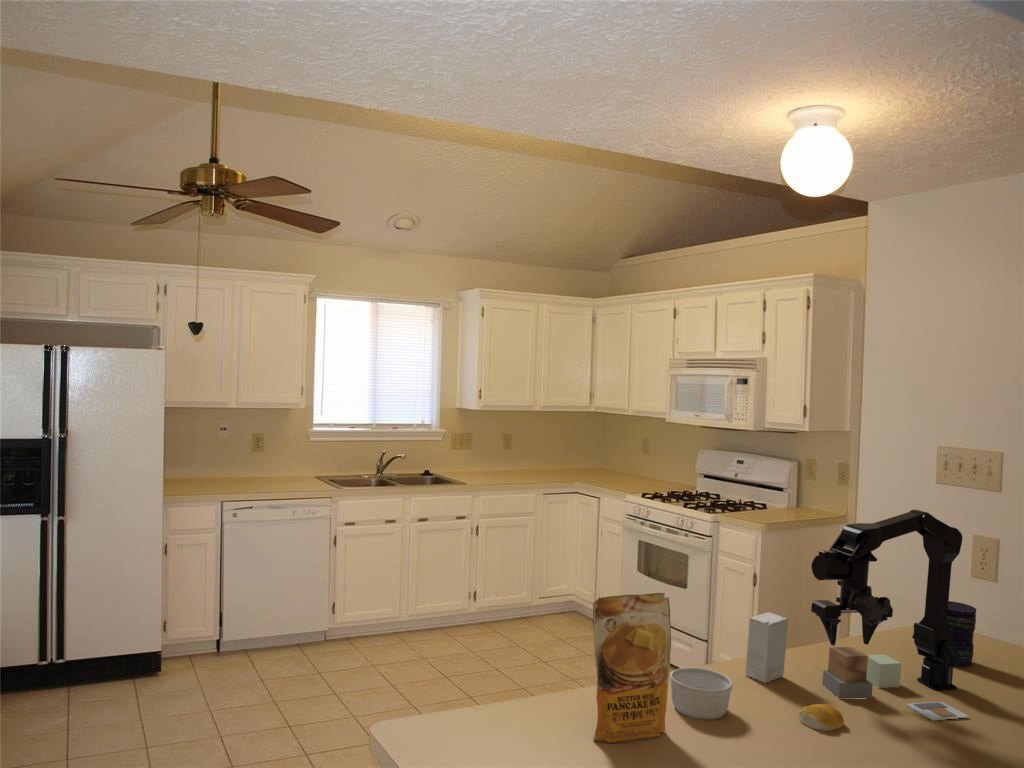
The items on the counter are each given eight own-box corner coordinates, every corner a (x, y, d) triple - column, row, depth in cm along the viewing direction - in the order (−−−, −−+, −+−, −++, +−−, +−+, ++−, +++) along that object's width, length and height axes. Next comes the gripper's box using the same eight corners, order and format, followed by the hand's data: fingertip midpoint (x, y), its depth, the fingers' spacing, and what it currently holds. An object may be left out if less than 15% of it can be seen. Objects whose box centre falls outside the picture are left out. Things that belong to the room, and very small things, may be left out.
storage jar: (980, 669, 217) (984, 613, 216) (942, 666, 217) (947, 610, 216) (960, 655, 227) (964, 601, 226) (924, 653, 227) (928, 599, 226)
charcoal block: (853, 687, 199) (854, 670, 199) (871, 701, 191) (872, 684, 191) (822, 686, 199) (823, 670, 198) (838, 700, 191) (839, 683, 191)
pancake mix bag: (577, 731, 165) (586, 593, 164) (659, 722, 172) (668, 589, 171) (592, 747, 159) (601, 603, 158) (677, 736, 166) (686, 599, 165)
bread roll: (850, 727, 176) (851, 708, 176) (824, 735, 171) (825, 716, 171) (817, 712, 183) (818, 694, 183) (790, 719, 178) (792, 701, 178)
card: (941, 703, 192) (941, 700, 192) (968, 718, 184) (969, 715, 184) (905, 705, 189) (905, 702, 189) (932, 721, 181) (932, 718, 181)
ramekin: (656, 707, 180) (658, 676, 180) (688, 692, 189) (690, 662, 189) (710, 728, 171) (713, 695, 170) (741, 711, 180) (743, 680, 180)
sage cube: (882, 677, 206) (884, 654, 206) (899, 687, 200) (901, 663, 200) (861, 679, 205) (863, 655, 204) (878, 688, 199) (880, 664, 199)
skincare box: (763, 669, 207) (768, 611, 206) (785, 677, 202) (789, 617, 201) (743, 676, 201) (748, 616, 201) (765, 684, 197) (769, 623, 196)
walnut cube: (848, 671, 199) (850, 646, 199) (866, 680, 193) (868, 655, 193) (827, 672, 197) (829, 647, 197) (844, 682, 191) (846, 656, 191)
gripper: (843, 589, 184) (837, 658, 184) (912, 588, 189) (907, 655, 189) (812, 576, 195) (807, 641, 195) (878, 575, 200) (873, 639, 200)
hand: (849, 644), depth 195 cm, fingers open, 9 cm apart
